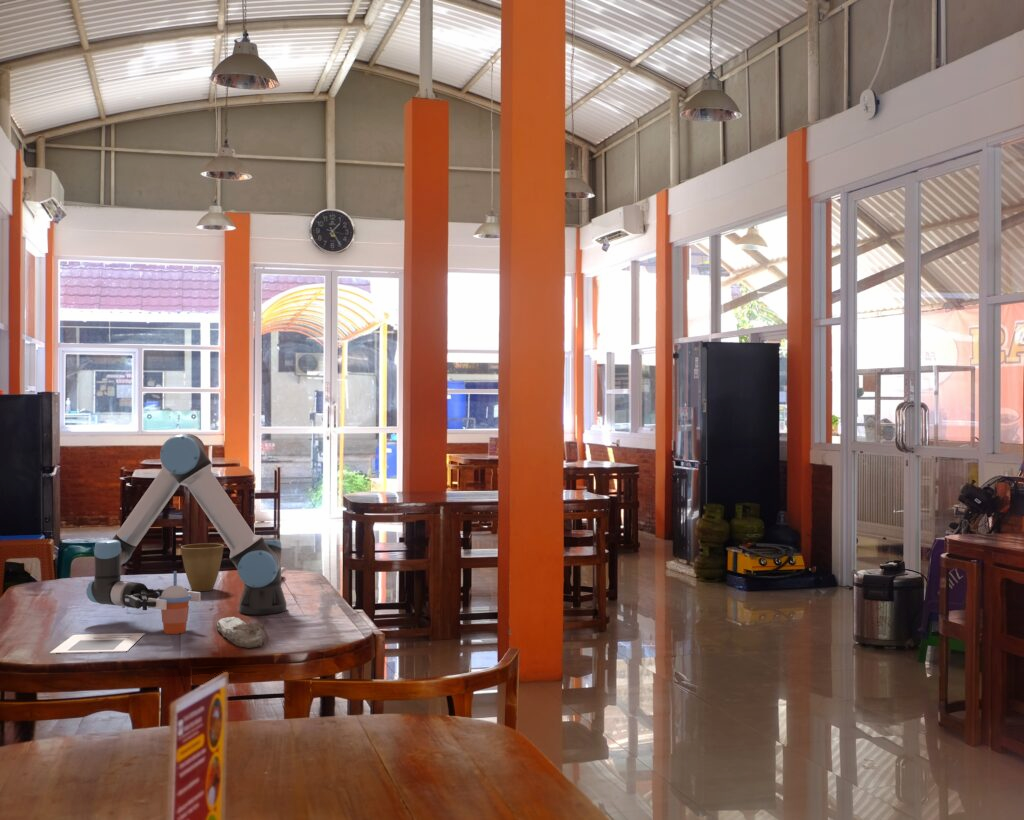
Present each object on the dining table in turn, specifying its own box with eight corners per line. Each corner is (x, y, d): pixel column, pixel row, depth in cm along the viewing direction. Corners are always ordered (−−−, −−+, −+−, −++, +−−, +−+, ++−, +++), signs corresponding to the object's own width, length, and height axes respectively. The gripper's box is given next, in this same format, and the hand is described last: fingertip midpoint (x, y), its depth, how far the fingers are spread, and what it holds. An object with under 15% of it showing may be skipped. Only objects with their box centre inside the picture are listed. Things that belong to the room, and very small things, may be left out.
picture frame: (145, 634, 305) (145, 632, 305) (126, 651, 283) (126, 650, 283) (73, 635, 302) (73, 634, 302) (49, 653, 280) (49, 652, 280)
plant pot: (232, 588, 380) (232, 544, 380) (200, 594, 367) (201, 549, 367) (203, 584, 388) (203, 541, 388) (171, 590, 375) (171, 546, 375)
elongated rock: (242, 628, 320) (209, 634, 315) (241, 611, 320) (208, 616, 315) (274, 646, 289) (238, 652, 284) (272, 627, 289) (236, 632, 285)
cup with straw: (181, 636, 302) (181, 574, 302) (152, 634, 304) (152, 572, 304) (196, 629, 311) (196, 569, 311) (168, 628, 313) (169, 568, 313)
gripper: (161, 600, 327) (213, 606, 317) (97, 614, 305) (150, 621, 295) (161, 576, 327) (213, 581, 317) (97, 588, 305) (150, 595, 295)
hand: (183, 600), depth 306 cm, fingers open, 13 cm apart
